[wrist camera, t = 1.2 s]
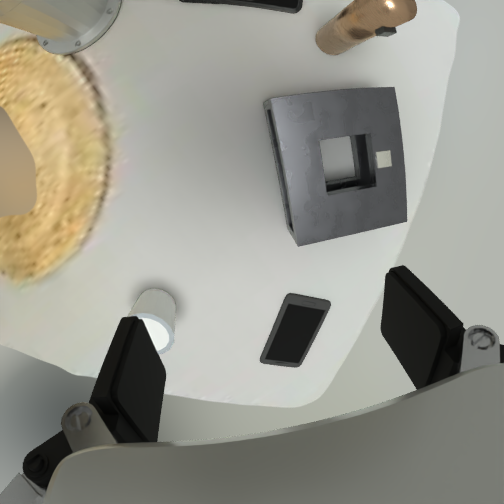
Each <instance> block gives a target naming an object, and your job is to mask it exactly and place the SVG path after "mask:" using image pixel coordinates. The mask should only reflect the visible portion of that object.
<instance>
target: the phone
mask: <svg viewBox="0 0 504 504" xmlns="http://www.w3.org/2000/svg"><path fill="white" fill-rule="evenodd" d="M179 1H181V2H190V3H212V4H229V5H239V6H248V7H256V8H263V9H269V10H275V11H281V12H287V13H297V12H299V10H300V9H301V8H302V3H303V0H179Z"/></svg>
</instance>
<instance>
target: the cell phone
mask: <svg viewBox="0 0 504 504" xmlns="http://www.w3.org/2000/svg"><path fill="white" fill-rule="evenodd" d="M330 306H331V303H330V301H328V300H325V299H319V298H314V297H309V296H304V295H299V294H294V293H289V294H287V295H286V297H285V299H284V301H283V303H282V306H281V308H280V311H279V313H278V316H277V318H276V321H275V323H274V326H273V328H272V331H271V333H270V335H269V338H268V340H267V343H266V345H265V347H264V350H263V352H262V354H261V357H260V362H261V363H264V364H270V365H278V366H286V367H299V366H300V365H301V364H302V362H303V361H304V359H305V357H306V355H307V353H308V351H309V349H310V347H311V345H312V343H313V341H314V339H315V337H316V335H317V333H318V331H319V329H320V327H321V325H322V323H323V321H324V319H325V317H326V315H327V313H328V311H329V309H330Z"/></svg>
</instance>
